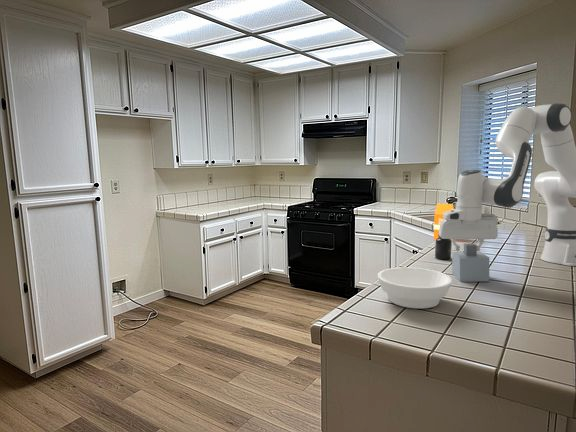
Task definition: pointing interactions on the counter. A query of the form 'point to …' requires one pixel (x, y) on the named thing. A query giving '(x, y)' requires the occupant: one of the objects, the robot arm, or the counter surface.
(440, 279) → the bowl
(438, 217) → the orange juice
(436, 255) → the supplement bottle
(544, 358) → the counter surface
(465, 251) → the grey block with knob
